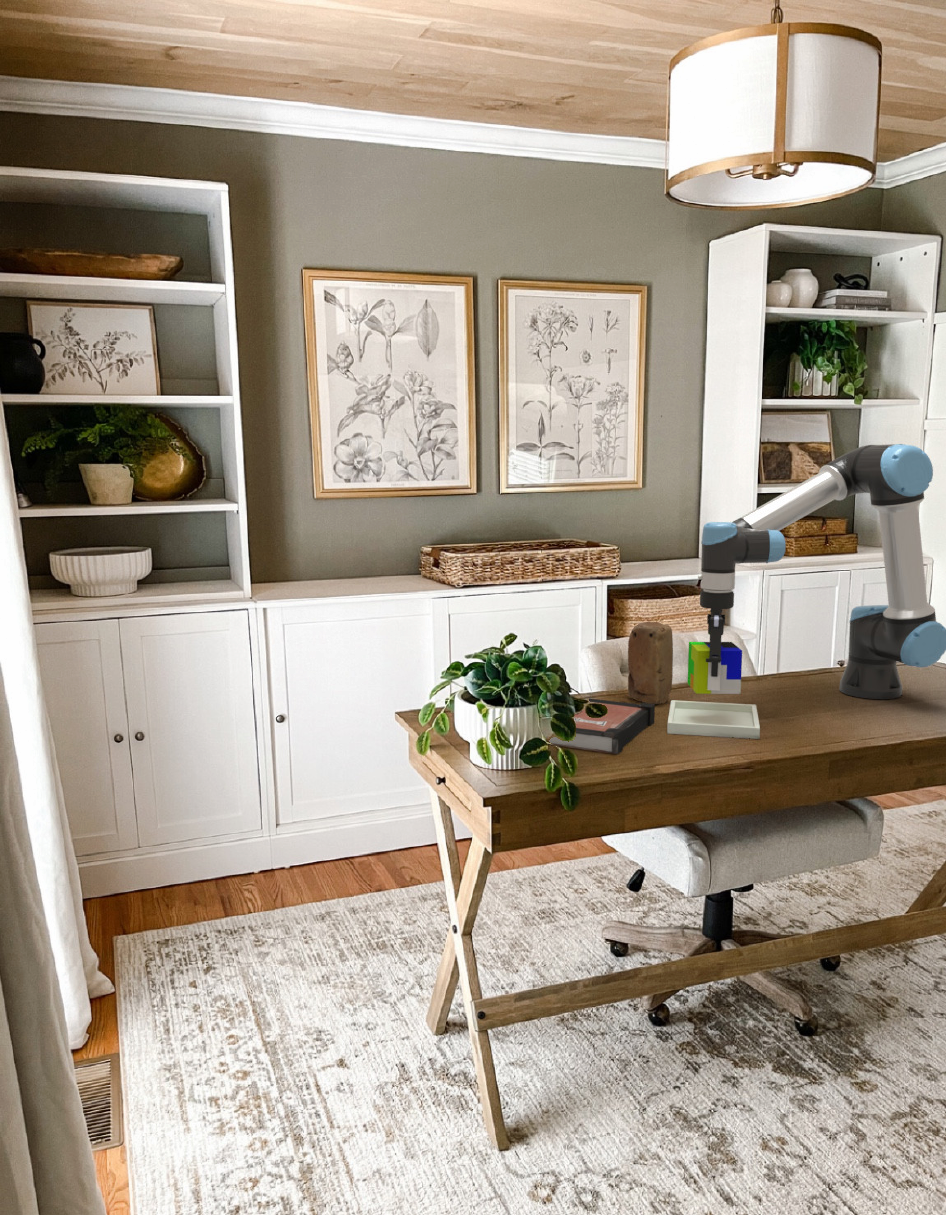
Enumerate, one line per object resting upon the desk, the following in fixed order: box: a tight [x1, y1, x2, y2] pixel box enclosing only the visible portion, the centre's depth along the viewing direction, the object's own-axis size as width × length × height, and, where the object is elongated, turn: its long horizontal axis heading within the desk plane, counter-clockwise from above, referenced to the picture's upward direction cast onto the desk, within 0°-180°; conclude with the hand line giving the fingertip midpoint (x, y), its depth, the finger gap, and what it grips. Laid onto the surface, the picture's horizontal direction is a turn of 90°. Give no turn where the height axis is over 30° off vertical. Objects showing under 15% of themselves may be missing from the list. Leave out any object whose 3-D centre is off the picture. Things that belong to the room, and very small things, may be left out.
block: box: [627, 621, 674, 705], centre depth 241 cm, size 11×8×20 cm
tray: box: [666, 699, 761, 740], centre depth 221 cm, size 20×20×2 cm
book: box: [549, 697, 656, 755], centre depth 215 cm, size 26×18×5 cm
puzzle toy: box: [687, 641, 743, 695], centre depth 219 cm, size 10×10×10 cm
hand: (713, 683), depth 220 cm, fingers closed on puzzle toy, 11 cm apart
